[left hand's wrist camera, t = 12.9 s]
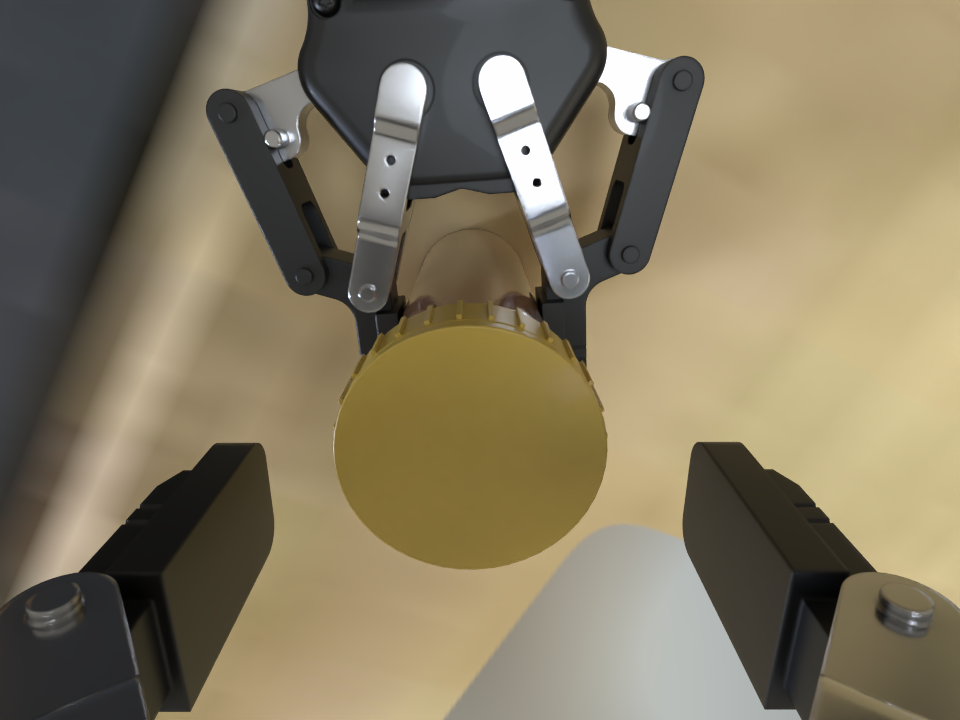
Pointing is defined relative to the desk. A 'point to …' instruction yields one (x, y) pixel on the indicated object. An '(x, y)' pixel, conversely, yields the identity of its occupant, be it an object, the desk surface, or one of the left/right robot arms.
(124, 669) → the left robot arm
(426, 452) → the lid
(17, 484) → the desk surface
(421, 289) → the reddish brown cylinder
